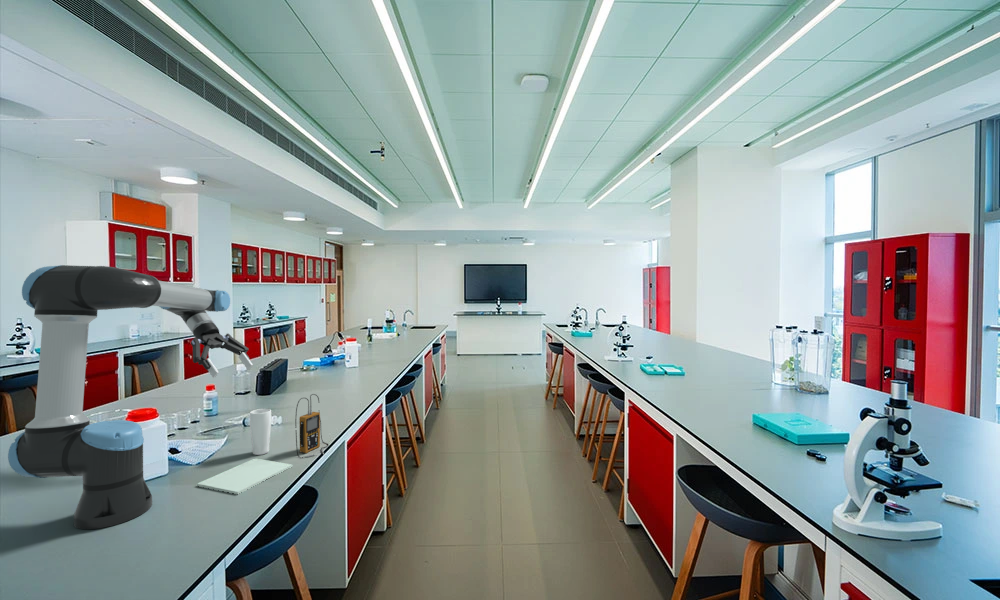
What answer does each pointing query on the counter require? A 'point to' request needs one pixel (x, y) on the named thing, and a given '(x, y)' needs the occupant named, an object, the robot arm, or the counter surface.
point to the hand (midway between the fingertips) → (234, 371)
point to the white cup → (260, 430)
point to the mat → (244, 476)
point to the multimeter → (309, 430)
